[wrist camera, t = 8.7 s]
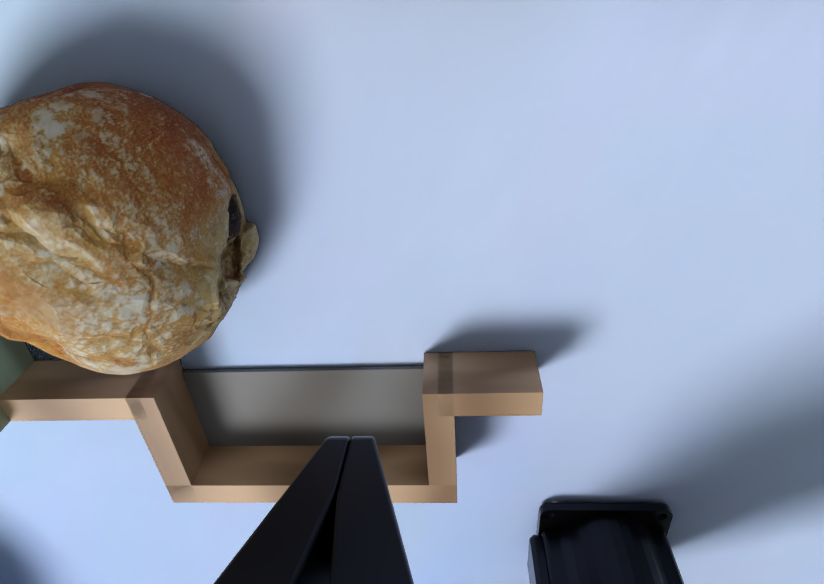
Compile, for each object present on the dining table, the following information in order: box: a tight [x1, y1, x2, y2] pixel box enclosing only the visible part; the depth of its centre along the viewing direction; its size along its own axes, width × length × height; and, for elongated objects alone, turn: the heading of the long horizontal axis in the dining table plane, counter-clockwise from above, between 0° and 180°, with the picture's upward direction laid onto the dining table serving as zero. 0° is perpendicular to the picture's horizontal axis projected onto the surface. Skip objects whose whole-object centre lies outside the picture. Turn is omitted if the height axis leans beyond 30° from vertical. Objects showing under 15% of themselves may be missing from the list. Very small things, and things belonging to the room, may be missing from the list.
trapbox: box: [0, 335, 543, 503], centre depth 19 cm, size 23×27×4 cm
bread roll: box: [0, 82, 259, 375], centre depth 19 cm, size 10×10×8 cm
